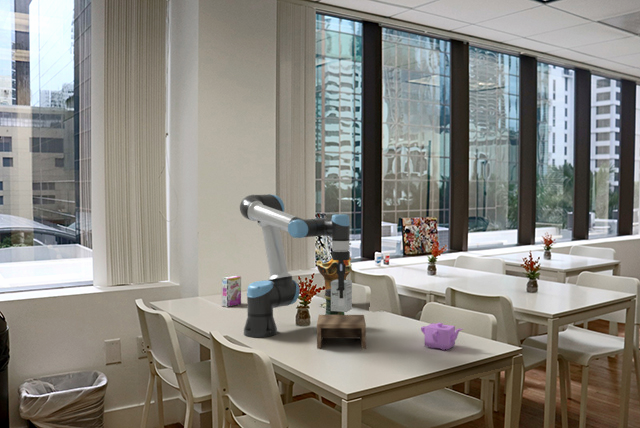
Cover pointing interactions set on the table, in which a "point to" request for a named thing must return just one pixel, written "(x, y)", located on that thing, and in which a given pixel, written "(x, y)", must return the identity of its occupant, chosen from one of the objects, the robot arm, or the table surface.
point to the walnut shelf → (341, 327)
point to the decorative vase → (331, 272)
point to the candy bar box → (231, 290)
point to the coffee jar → (328, 304)
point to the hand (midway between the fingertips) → (341, 303)
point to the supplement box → (347, 296)
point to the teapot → (440, 335)
